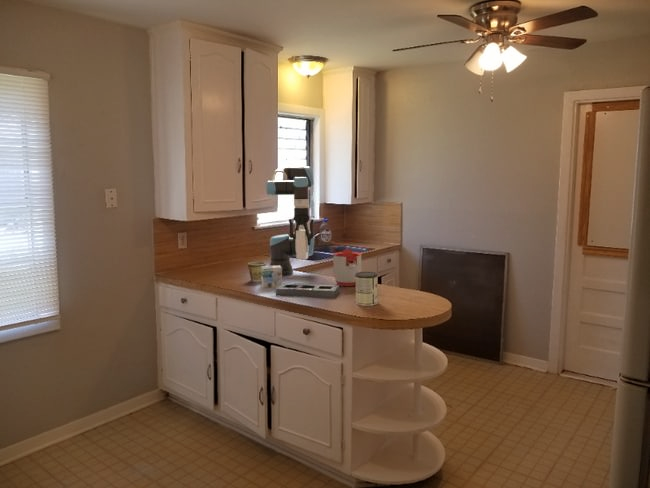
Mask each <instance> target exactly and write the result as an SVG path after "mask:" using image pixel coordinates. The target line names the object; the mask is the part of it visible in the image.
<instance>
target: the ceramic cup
mask: <svg viewBox="0 0 650 488" xmlns="http://www.w3.org/2000/svg"><path fill="white" fill-rule="evenodd" d="M261 266H266V262H264V261H252V262H248V263H247V268H248V272H249V277H250V281H251V282H253V283H257V282H260V283H261Z"/></svg>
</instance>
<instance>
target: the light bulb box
mask: <svg viewBox="0 0 650 488" xmlns="http://www.w3.org/2000/svg"><path fill="white" fill-rule="evenodd" d="M260 283H261V287H262V289H266V288H269V289H270V288H277V287H279V286H280V285H282V284H283V276H282V267H281V266H280V265H276V266H269V265H265V266H261V281H260Z"/></svg>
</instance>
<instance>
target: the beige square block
mask: <svg viewBox="0 0 650 488" xmlns="http://www.w3.org/2000/svg"><path fill="white" fill-rule="evenodd" d="M306 239H307V236H306V231H305V230H296V256H295V257H296V260H307V259H309V256H308V252H306Z"/></svg>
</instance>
